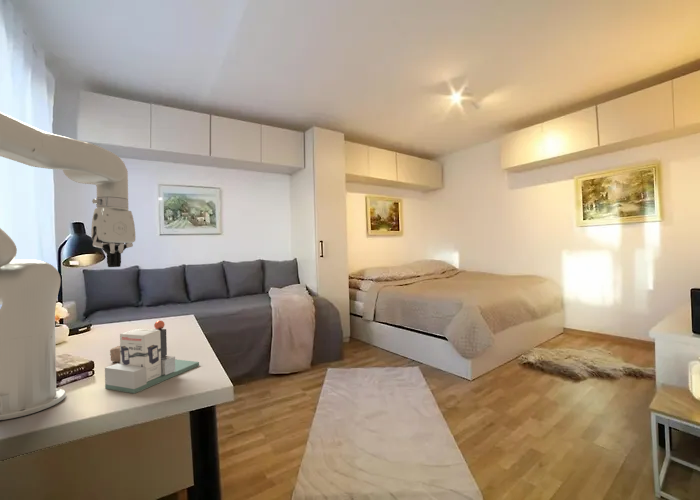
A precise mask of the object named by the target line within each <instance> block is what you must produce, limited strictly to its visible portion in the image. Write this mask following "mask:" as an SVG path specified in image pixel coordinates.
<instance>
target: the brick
mask: <svg viewBox="0 0 700 500" xmlns="http://www.w3.org/2000/svg"><path fill="white" fill-rule="evenodd" d="M109 355H110V361H111V362H112V363H116V362H117V363H120V345H117V346H115V347H112V348H110V350H109Z"/></svg>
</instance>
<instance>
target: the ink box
mask: <svg viewBox="0 0 700 500" xmlns="http://www.w3.org/2000/svg"><path fill="white" fill-rule="evenodd" d="M154 329H155V328H154ZM154 329H151V328H135V329H131V330H128V331H124V332H120V333H119V346H120V362H119V364H125V365H132V366H140V367H146V381H147V382H148V381H150V380H152V379H155V378H157V377H159V376H161V339H160V330H154Z"/></svg>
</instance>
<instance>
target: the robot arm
mask: <svg viewBox="0 0 700 500" xmlns="http://www.w3.org/2000/svg"><path fill="white" fill-rule="evenodd" d="M0 157H2V158H5V159H9V160H12V161H14V162H16V163H21V164H23V165H27V166H29V167H32V168H33V167H34V168H41V169H48V170H62V172H63V173H64V174H63V175H65V176H66V177H67V178H68V179H69V180H71V181H73V182H74V183H78V184H85V185H95V186H96V198H92V201H91V202H92V204H94V205H95V206H96V207H95V208H94V210H93V215H92V219H91V220H92V221H91V229H90V230H91V240H92V247H95V248H98V249H101V250H102V251H104V252H103V253H104V254H106V263H107V267H108V268H121V265H122V254H123V253H124V251H125V250H126V249H128V248H133V247H134V244H133V243H135V242H136V227H135V222H134V216H133V213H132V211H131V210H129V178H128V177H129V173H128V168H127V166H126V164H125V162H124V161H123V160H122V159H121V157H120V156H118V155H117V154H116V153H114V152H112V151H110V150H108V149H106V148H103V147H101V146H100V145H96V144H93V143H90V142H87V141H83V140H79V139H74V138H70V137H67V136H64V135H63V136H62V135H60V134H54V133H52V132H51V133H50V132H48V131H44V130H42V129H39V128H38V127H35V126H33V125H31V124H28V123H27V122H23V121H21V120H19V119H17V118H15V117H12V116H11V115H8V114H5V113H4V112H1V111H0ZM17 251H18V250H17V246H16V243H15V241H14V240H13V239H12V238H11V237H10V235H8V233H7V232H5V231H4V230H3V229H2V228H1V227H0V305H1V306H0V421H4V420H11V419H15V418H21V417H24V416H27V415H32V414H36V413H38V412H41V411H44V410H46V409H49V408H51V407H53V406H55V405H57V404H59V403H60V402H62V401H63V400H64V399H65V398H66V390H64V389H63V388H57V360H56V359H57V354H56V350H57V349H56V347H57V346H56V343H57V342H56V307H57V302H58V295H59V291H60V287H61V275H60V273H59V271H58V269H57V268H56V267H55V266H54V265H53V264H51V263H49V262H45V261H42V260H38V259H15V258H16V256H17Z"/></svg>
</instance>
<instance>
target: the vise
mask: <svg viewBox="0 0 700 500" xmlns="http://www.w3.org/2000/svg"><path fill="white" fill-rule="evenodd" d="M199 366H200V362H199V361H194V360H186V359H184V360H183V359H176V358H175V372H172V373H170V374H167V375H161V376H159V377H157V378H155V379H152V380H150V381H148V382H147V381H146V367H140V366H132V365H125V364H120V363H114V364H112V365H109V366H106V367H104V383H105V385H104V387H105V389H108V390H112V391H116V392H117V391H118V392H124V393H130V394H136V393H139V392H141V391H143V390H147V388H150V387H152V386H155V385H157V384H160V383H162V382H165V381H166V380H168V379H171V378H173V377H175V376H178V375H181V374H183V373H185V372H187V371H190V370H192V369H194V368H197V367H199Z"/></svg>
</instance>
